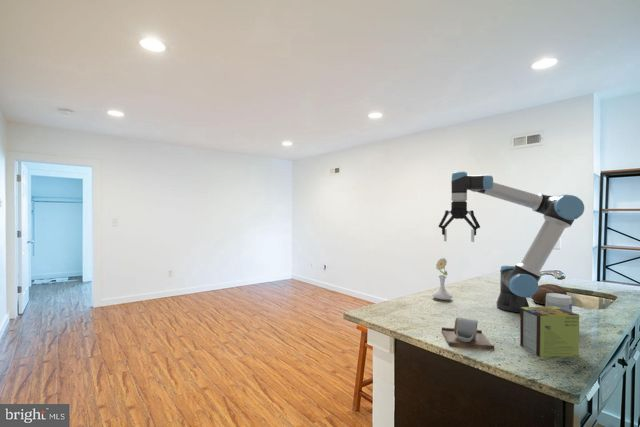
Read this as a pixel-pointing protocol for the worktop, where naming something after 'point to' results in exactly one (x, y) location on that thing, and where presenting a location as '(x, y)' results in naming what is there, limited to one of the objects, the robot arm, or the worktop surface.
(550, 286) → the bread
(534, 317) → the protein box
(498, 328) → the worktop surface
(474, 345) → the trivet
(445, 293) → the flower in vase
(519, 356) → the worktop surface
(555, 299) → the supplement tub
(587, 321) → the worktop surface
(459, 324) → the ceramic mug
